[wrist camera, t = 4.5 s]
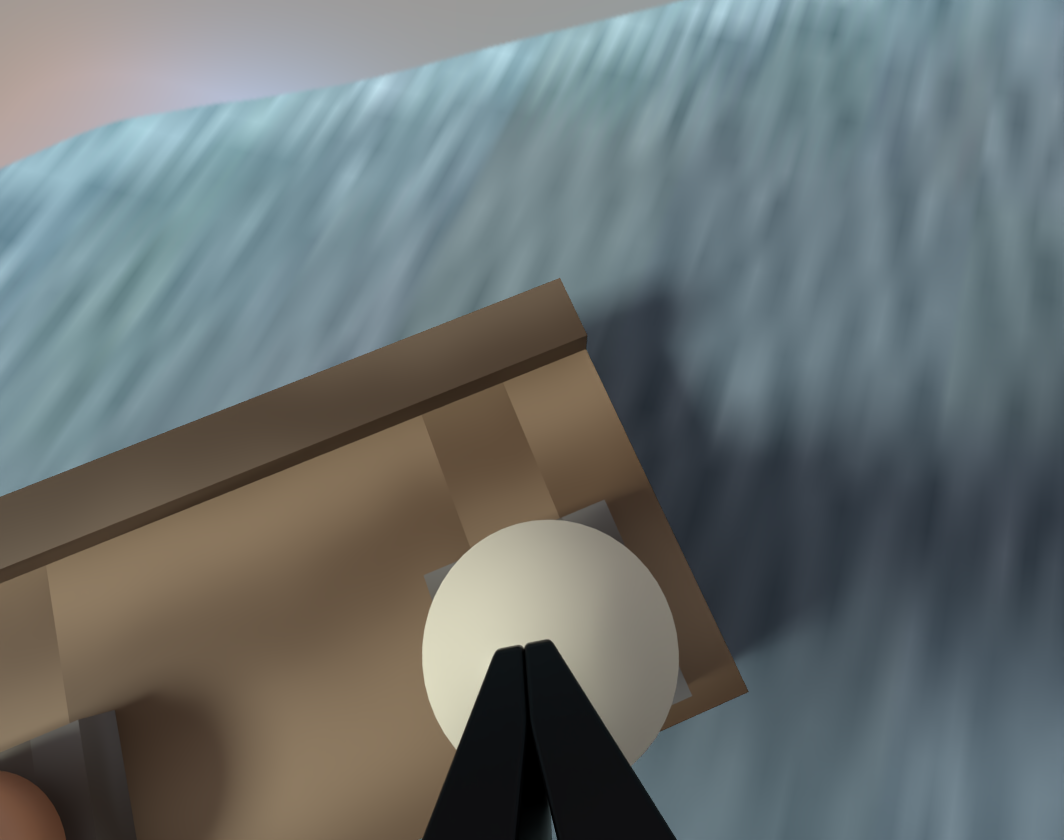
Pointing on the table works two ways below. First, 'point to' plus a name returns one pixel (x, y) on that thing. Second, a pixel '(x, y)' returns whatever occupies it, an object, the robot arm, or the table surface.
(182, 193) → the table surface
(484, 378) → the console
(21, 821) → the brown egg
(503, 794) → the robot arm
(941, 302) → the table surface
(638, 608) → the button cream
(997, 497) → the table surface
